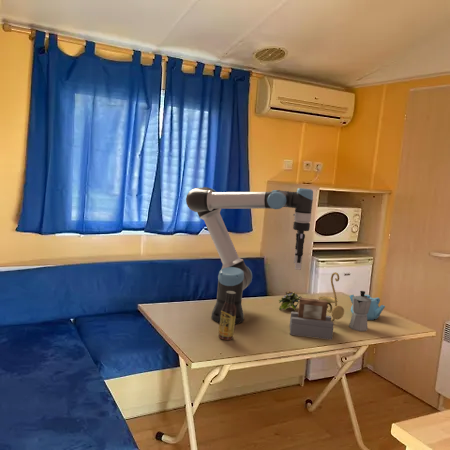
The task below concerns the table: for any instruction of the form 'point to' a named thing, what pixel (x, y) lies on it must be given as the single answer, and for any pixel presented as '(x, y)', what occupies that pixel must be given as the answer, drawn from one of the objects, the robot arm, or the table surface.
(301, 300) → the picture frame
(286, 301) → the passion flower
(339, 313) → the wall sconce
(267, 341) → the table surface
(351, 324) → the coffee maker
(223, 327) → the sauce bottle
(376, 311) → the teapot
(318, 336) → the picture ledge
